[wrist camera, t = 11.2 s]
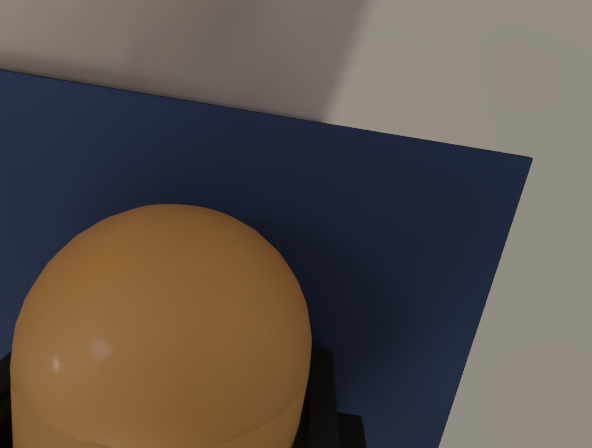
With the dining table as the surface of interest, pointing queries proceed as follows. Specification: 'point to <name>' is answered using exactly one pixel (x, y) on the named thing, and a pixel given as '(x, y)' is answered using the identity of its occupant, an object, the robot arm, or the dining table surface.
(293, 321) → the bread roll
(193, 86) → the dining table surface
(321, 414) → the robot arm
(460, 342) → the napkin
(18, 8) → the dining table surface
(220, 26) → the dining table surface
